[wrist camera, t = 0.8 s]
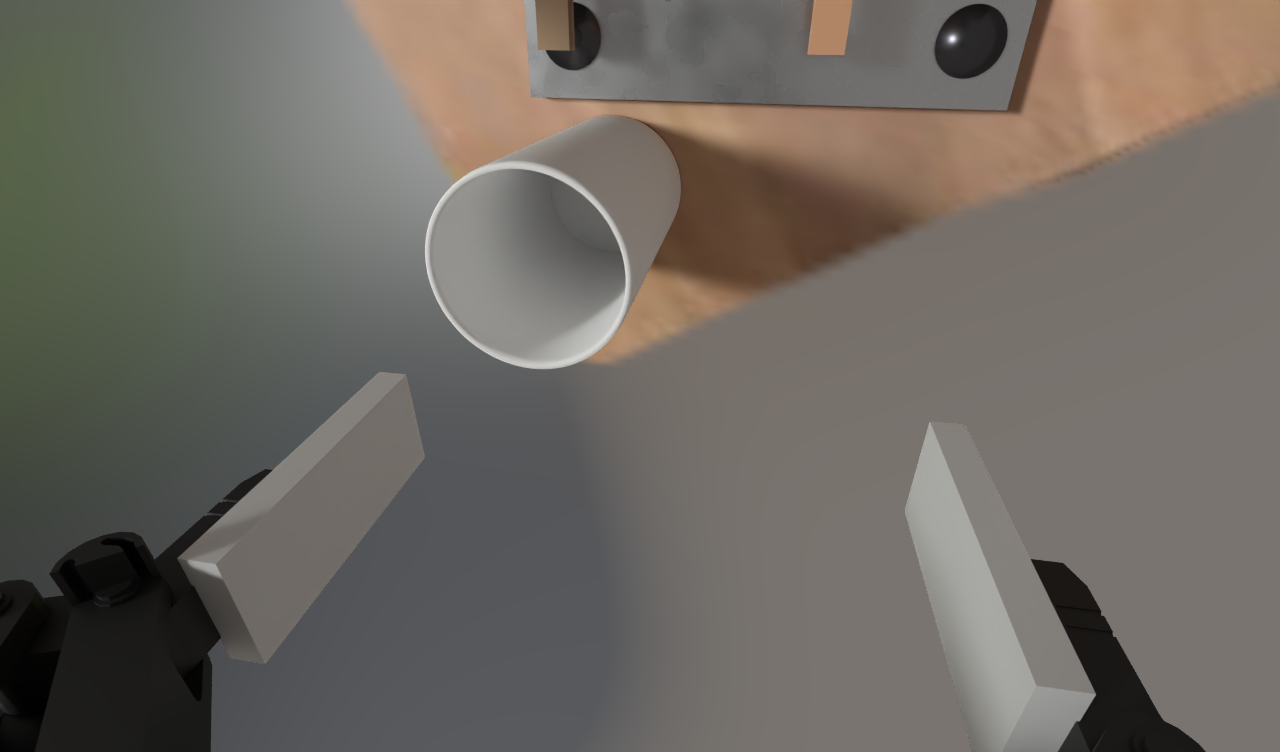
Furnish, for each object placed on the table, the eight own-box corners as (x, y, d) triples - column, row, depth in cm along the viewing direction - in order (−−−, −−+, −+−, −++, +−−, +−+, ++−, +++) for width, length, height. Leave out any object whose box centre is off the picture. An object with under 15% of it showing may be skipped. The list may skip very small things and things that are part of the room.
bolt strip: (528, -29, 33) (521, -31, 32) (1037, -30, 29) (1047, -32, 28) (536, 95, 36) (530, 97, 35) (1000, 108, 32) (1007, 110, 31)
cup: (686, 119, 35) (635, 170, 21) (676, 259, 39) (628, 381, 25) (545, 110, 36) (409, 153, 22) (550, 248, 40) (437, 358, 26)
